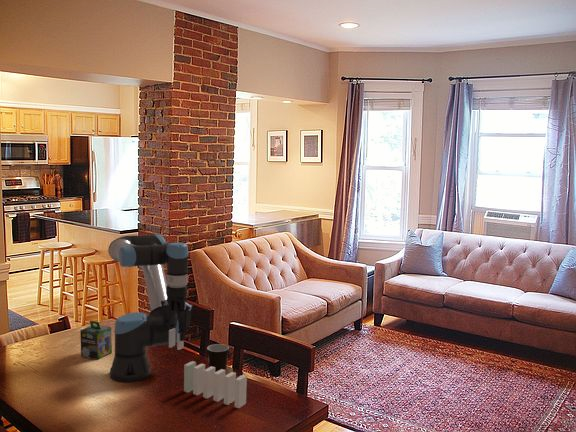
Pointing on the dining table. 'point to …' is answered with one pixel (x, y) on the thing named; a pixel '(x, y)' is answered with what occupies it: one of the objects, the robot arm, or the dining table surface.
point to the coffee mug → (218, 356)
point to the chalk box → (96, 341)
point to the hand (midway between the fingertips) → (176, 347)
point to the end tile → (189, 376)
